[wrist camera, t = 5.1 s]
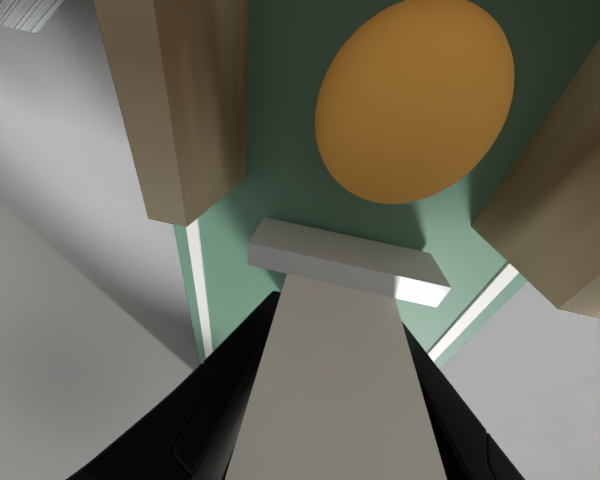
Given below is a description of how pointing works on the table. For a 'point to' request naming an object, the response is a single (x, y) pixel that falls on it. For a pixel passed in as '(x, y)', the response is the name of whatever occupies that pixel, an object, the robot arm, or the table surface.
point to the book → (27, 13)
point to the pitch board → (348, 207)
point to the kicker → (338, 362)
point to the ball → (414, 100)
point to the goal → (232, 141)
